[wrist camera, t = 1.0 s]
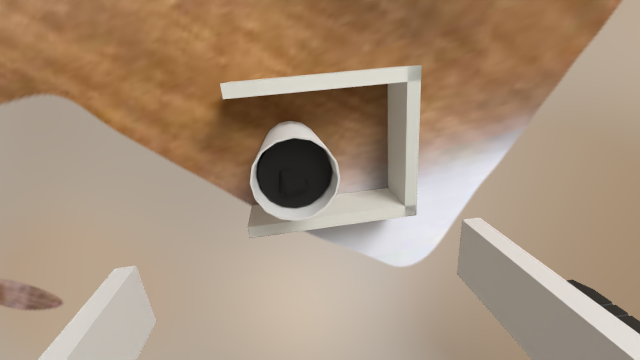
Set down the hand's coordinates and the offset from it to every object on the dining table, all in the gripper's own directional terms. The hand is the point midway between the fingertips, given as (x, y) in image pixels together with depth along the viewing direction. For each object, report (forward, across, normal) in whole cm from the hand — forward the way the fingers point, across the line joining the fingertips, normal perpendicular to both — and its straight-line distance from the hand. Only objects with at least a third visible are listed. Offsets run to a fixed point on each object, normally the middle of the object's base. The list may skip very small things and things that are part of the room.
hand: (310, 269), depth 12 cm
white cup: (+21, 0, 0) cm, 21 cm away
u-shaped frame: (+20, +3, 0) cm, 21 cm away
